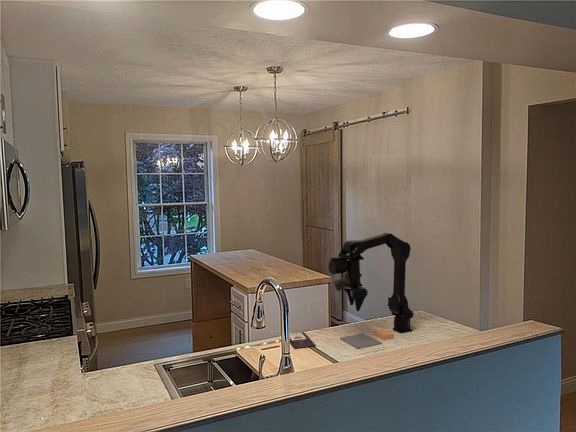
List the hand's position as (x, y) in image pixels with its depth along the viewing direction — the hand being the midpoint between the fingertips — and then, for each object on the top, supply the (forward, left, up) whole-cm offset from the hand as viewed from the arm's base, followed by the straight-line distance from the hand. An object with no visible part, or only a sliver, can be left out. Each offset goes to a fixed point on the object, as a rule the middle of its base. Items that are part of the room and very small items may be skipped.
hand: (354, 308), depth 188 cm
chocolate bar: (+21, -10, -14) cm, 28 cm away
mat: (-1, +2, -14) cm, 14 cm away
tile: (-12, +2, -14) cm, 19 cm away
